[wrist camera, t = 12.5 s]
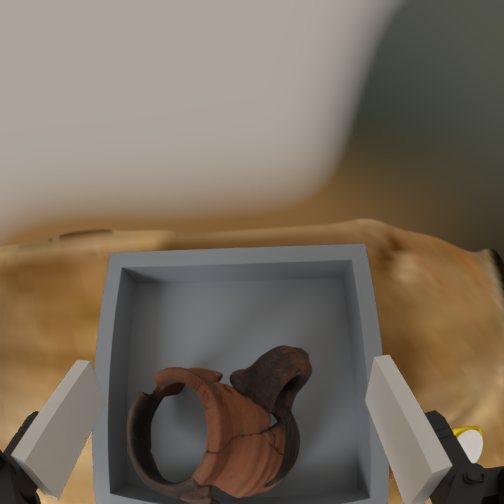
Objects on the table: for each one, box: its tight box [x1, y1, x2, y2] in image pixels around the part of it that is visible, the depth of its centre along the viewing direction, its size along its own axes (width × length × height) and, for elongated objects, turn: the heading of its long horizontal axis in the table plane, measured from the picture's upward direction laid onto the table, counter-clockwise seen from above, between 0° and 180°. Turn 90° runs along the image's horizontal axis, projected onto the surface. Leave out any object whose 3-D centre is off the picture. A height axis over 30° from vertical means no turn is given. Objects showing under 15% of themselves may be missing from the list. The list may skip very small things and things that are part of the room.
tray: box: [92, 244, 389, 504], centre depth 19 cm, size 18×18×4 cm
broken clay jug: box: [126, 345, 312, 504], centre depth 17 cm, size 12×10×8 cm
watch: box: [452, 426, 483, 463], centre depth 15 cm, size 6×3×6 cm, turn 95°
